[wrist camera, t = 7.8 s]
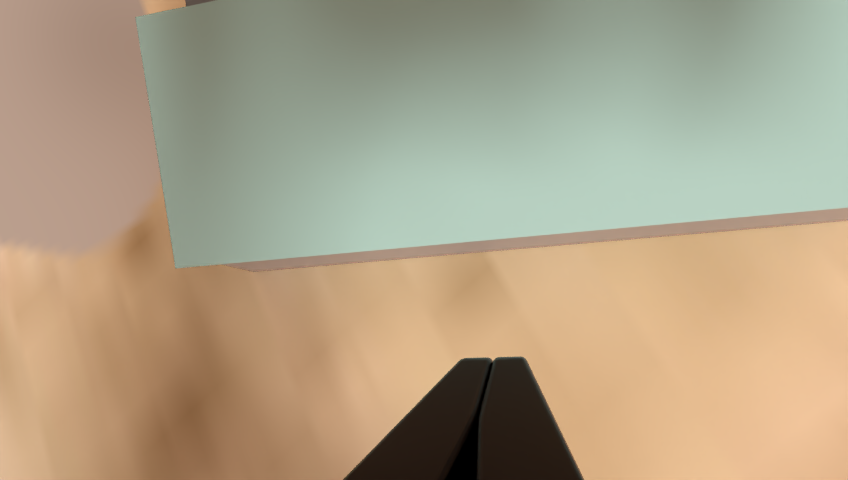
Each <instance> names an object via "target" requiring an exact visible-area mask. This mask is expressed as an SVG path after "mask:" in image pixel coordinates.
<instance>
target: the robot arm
mask: <svg viewBox="0 0 848 480" xmlns="http://www.w3.org/2000/svg"><path fill="white" fill-rule="evenodd" d="M343 480H584V479H583V477H582V474H581V472H580V470H579V468H578V466H577V464H576V462H575V460H574V458H573V456H572V454H571V452H570V449H569V447H568V445H567V443H566V441H565V439H564V437H563V435H562V433H561V431H560V429H559V427H558V425H557V422H556V420H555V418H554V416H553V414H552V412H551V410H550V408H549V406H548V404H547V402H546V400H545V397H544V395H543V393H542V391H541V389H540V387H539V385H538V383H537V381H536V379H535V377H534V375H533V373H532V370H531V368H530V366H529V364H528V362H527V360H526V359H525V358H523V357H498V358H496V359H494V361H492V359H490V358H464V359H461V360H460V361H459V362H458V363H457V364H456V365H455V366H454V367H453V368H452V369H451V370H450V371H449V372H448V373H447V374H446V375H445V376H444V377H443V378H442V379H441V380H440V381H439V382H438V383H437V384H436V385H435V386H434V387H433V388H432V389H431V390H430V391H429V392H428V393H427V394H426V395H425V396H424V397H423V398H422V400H421V401H420V402H419V403H418V404H417V405H416V406H415V407H414V408H413V409H412V410H411V411H410V412H409V413H408V414H407V415H406V416H405V417H404V418H403V419H402V420H401V421H400V422H399V423H398V424H397V425H396V426H395V427H394V428H393V429H392V430H391V431H390V432H389V433H388V434H387V435H386V436H385V437H384V438H383V439H382V440H381V441H380V442H379V443H378V445H377V446H376V447H375V448H374V449H373V450H372V451H371V452H370V453H369V454H368V455H367V456H366V457H365V458H364V459H363V460H362V461H361V462H360V463H359V464H358V465H357V466H356V467H355V468H354V469H353V470H352V471H351V472H350V473H349V474H348V475H347V476H346V477H345V478H344V479H343Z"/></svg>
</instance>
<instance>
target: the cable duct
mask: <svg viewBox="0 0 848 480" xmlns="http://www.w3.org/2000/svg"><path fill="white" fill-rule="evenodd" d="M847 220H848V208H838V209H827V210H816V211H805V212H794V213H783V214H771V215H760V216H749V217H738V218H727V219H716V220H705V221H694V222H683V223H672V224H661V225H650V226H639V227H628V228H617V229H606V230H595V231H584V232H572V233H561V234H550V235H539V236H528V237H517V238H506V239H495V240H484V241H473V242H462V243H451V244H440V245H429V246H418V247H407V248H396V249H385V250H374V251H362V252H351V253H340V254H329V255H318V256H307V257H296V258H285V259H274V260H263V261H252V262H241V263H230V264H221V265H226V266H230V267H235V268H239V269H244V270H248V271H253V272H255V271H266V270H278V269H290V268H301V267H313V266H324V265H336V264H348V263H359V262H371V261H383V260H394V259H406V258H418V257H429V256H441V255H452V254H464V253H476V252H487V251H499V250H511V249H522V248H534V247H546V246H557V245H569V244H580V243H592V242H604V241H615V240H627V239H639V238H650V237H662V236H673V235H685V234H697V233H708V232H720V231H732V230H743V229H755V228H767V227H778V226H790V225H801V224H813V223H825V222H836V221H847Z"/></svg>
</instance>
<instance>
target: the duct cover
mask: <svg viewBox="0 0 848 480" xmlns="http://www.w3.org/2000/svg"><path fill="white" fill-rule="evenodd" d="M185 1H186V7H182V8H177V9H172V10H167V11H163V12H158V13H153V14H148V15H143V16H139V17H136V25H137V30H138V37H139V43H140V49H141V56H142V62H143V68H144V75H145V81H146V87H147V93H148V100H149V106H150V112H151V118H152V124H153V131H154V137H155V142H156V149H157V156H158V162H159V168H160V174H161V181H162V187H163V193H164V199H165V206H166V212H167V218H168V224H169V231H170V237H171V243H172V249H173V256H174V262H175V268H186V267H197V266H208V265H219V264H230V263H241V262H252V261H263V260H274V259H285V258H296V257H307V256H318V255H329V254H340V253H351V252H362V251H374V250H385V249H396V248H407V247H418V246H429V245H440V244H451V243H462V242H473V241H484V240H495V239H506V238H517V237H528V236H539V235H550V234H561V233H572V232H584V231H595V230H606V229H617V228H628V227H639V226H650V225H661V224H672V223H683V222H694V221H705V220H716V219H727V218H738V217H749V216H760V215H771V214H783V213H794V212H805V211H816V210H827V209H838V208H848V0H185Z"/></svg>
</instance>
